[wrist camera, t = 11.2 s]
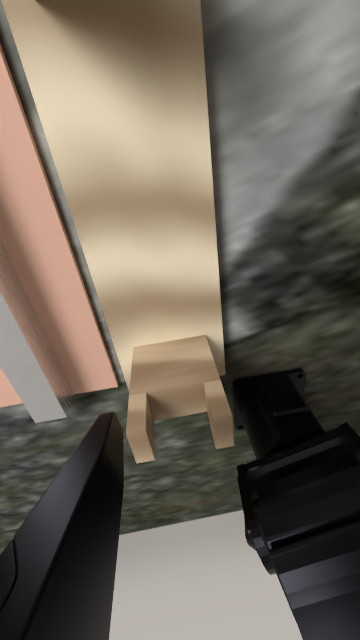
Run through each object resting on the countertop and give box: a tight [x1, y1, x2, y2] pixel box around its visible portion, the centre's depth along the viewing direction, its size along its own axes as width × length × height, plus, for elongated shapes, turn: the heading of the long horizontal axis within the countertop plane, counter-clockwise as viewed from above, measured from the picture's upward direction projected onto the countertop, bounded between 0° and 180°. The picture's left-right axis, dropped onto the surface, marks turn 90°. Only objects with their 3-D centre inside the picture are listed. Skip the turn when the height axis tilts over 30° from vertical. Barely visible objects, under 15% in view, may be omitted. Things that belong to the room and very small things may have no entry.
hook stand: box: [2, 0, 234, 463], centre depth 13 cm, size 26×8×9 cm, turn 8°
